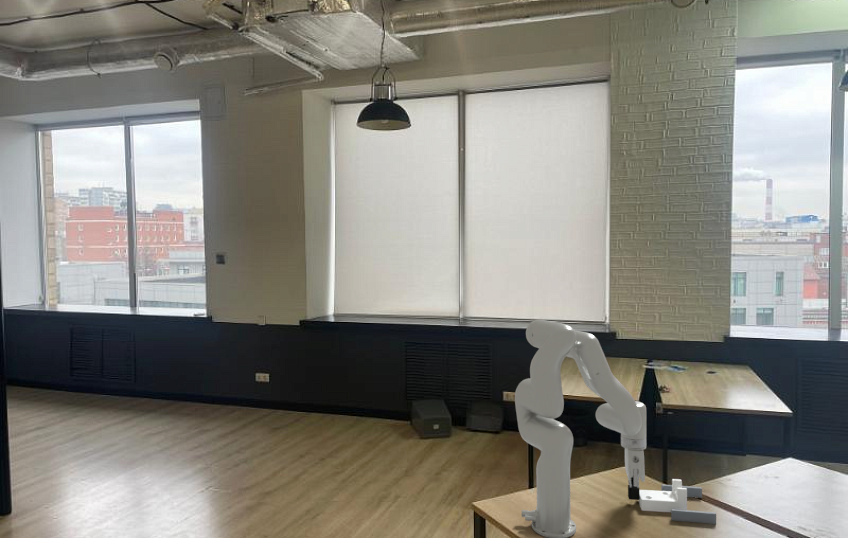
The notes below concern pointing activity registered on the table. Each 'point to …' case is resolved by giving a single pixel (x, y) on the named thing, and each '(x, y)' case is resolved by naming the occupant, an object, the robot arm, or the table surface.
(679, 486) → the bracket
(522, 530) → the table surface
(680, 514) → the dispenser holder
